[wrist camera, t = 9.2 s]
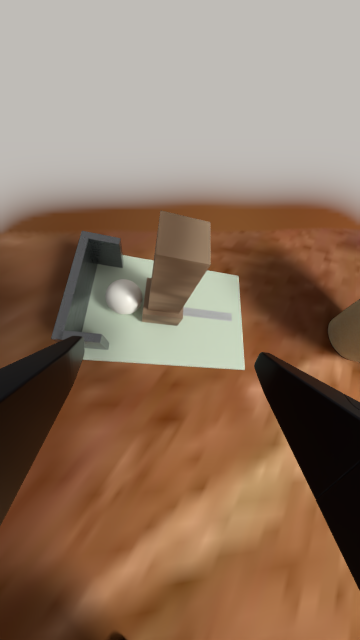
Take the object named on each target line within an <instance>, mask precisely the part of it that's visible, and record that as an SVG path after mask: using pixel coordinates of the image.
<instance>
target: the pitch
mask: <svg viewBox="0 0 360 640" xmlns="http://www.w3.org/2000/svg"><path fill="white" fill-rule="evenodd" d="M153 263H154V261H152V260H147V259H141V258H136V257H130V256H124V255H123V268H119V267H113V266H107V265H101V264H98V265H97V269H96V273H95V278H94V282H93V286H92V291H91V295H90V299H89V304H88V308H87V312H86V317H85V321H84V325H83V330H82V332H85V333H96V334H102V335H103V336H104V337H105V338H106V339H107V341H108V342H109V348H108V350H103V349H90V348H84V349H85V353H84V357H83V360H95V361H111V362H126V363H142V364H157V365H173V366H189V367H204V368H220V369H236V370H245V365H244V350H243V336H242V321H241V306H240V291H239V276H236V275H230V274H225V273H219V272H213V271H208V270H207V271H206V273H205V274H204V276H203V277H202V279H201V280H200V282H199V283H198V285H197V286H196V288H195V290H194V291H193V293H192V294H191V296H190V297H189V299H188V300H187V302H186V303H185V305H184V307H183V319H182V320H181V322H180V323H179V324H178V326H174V325H165V324H156V323H146V322H142V314H143V305H144V297H145V289H146V281H147V278H152V270H153ZM120 279H127V280H130V281H132V282H134V283H135V284H137V285H138V287H139V288H140V290H141V292H142V303H141V305H140V307H139V308H138V309H137V310H136V311H135V312H133V313H131V314H127V315H122V314H118V313H116V312H114V311H113V310H111V309H110V308H109V306H108V305H107V302H106V298H105V294H106V290H107V288H108V286H109V285H110V284H111V283H112V282H114V281H116V280H120Z"/></svg>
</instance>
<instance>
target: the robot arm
mask: <svg viewBox="0 0 360 640" xmlns="http://www.w3.org/2000/svg"><path fill="white" fill-rule="evenodd" d="M84 353H85V349H84V338H83V337H82V336H71V337H69V338H66V339H64V340H62V341H60V342H58V343H56V344H53V345H51V346H49V347H47V348H45V349H42V350H40V351H38V352H36V353H34V354H32V355H29V356H27V357H25V358H23V359H21V360H18V361H16V362H14V363H12V364H10V365H8V366H5V367H3V368H1V369H0V525H1V524H2V522H3V520H4V518H5V516H6V514H7V512H8V510H9V508H10V506H11V504H12V502H13V500H14V498H15V497H16V495H17V493H18V491H19V489H20V487H21V485H22V483H23V481H24V479H25V477H26V475H27V473H28V471H29V470H30V468H31V466H32V464H33V462H34V460H35V458H36V456H37V454H38V452H39V450H40V448H41V446H42V444H43V443H44V441H45V439H46V437H47V435H48V433H49V431H50V429H51V427H52V425H53V423H54V421H55V419H56V417H57V415H58V414H59V412H60V410H61V408H62V406H63V404H64V402H65V400H66V398H67V396H68V394H69V392H70V390H71V388H72V386H73V384H74V381H75V379H76V376H77V373H78V371H79V368H80V365H81V362H82V360H83V357H84ZM254 367H255V370H256V373H257V376H258V378H259V381H260V384H261V386H262V389H263V392H264V394H265V396H266V398H267V400H268V402H269V404H270V407H271V409H272V411H273V413H274V415H275V417H276V419H277V421H278V423H279V425H280V427H281V429H282V431H283V433H284V435H285V437H286V439H287V442H288V444H289V446H290V448H291V450H292V452H293V454H294V456H295V458H296V460H297V462H298V464H299V466H300V468H301V470H302V472H303V475H304V477H305V479H306V481H307V483H308V485H309V487H310V489H311V491H312V493H313V495H314V497H315V499H316V502H317V504H318V506H319V508H320V510H321V512H322V514H323V516H324V518H325V520H326V522H327V524H328V526H329V529H330V531H331V533H332V535H333V537H334V539H335V541H336V543H337V545H338V547H339V549H340V551H341V553H342V555H343V557H344V559H345V562H346V564H347V566H348V568H349V570H350V572H351V574H352V576H353V578H354V580H355V582H356V584H357V586H358V588H359V590H360V402H358V401H356V400H354V399H353V398H351V397H349V396H347V395H345V394H343V393H341V392H340V391H338V390H336V389H334V388H332V387H330V386H329V385H327V384H325V383H323V382H321V381H319V380H318V379H316V378H314V377H312V376H310V375H308V374H307V373H305V372H303V371H301V370H299V369H297V368H296V367H294V366H292V365H290V364H288V363H286V362H284V361H283V360H281V359H279V358H277V357H275V356H273V355H272V354H270V353H265V352H261V353H260V354H259V356H258V358H257V360H256V362H255V365H254Z"/></svg>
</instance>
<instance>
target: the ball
mask: <svg viewBox="0 0 360 640" xmlns="http://www.w3.org/2000/svg"><path fill="white" fill-rule="evenodd" d="M105 298H106V302H107V305H108V306H109V308H110V309H111V310H113V311H114V312H116V313H118V314H122V315H127V314H131V313H133V312H135V311H136V310H137V309H138V308H139V307H140V305H141V303H142V292H141V290H140V288H139V287H138V285H137V284H135V283H134V282H132V281H130V280H127V279H120V280H116V281H114V282H112V283H111V284H110V285H109V286H108V288H107V290H106V294H105Z"/></svg>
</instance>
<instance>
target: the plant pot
mask: <svg viewBox="0 0 360 640" xmlns="http://www.w3.org/2000/svg"><path fill="white" fill-rule="evenodd" d="M328 336H329V339H330V342H331V344H332V346H333V347H334V349H335V350H336V351H337V352H338V353H339V354H340V355H341V356H343V357H344V358H346V359H348V360H352V361H356V362H360V299H359V300H358V301H356V302H355V303H353V304H352V305H351V306H349V307H348V308H346V309H345V310H344V311H342V312H341V313H340V314H339V315H337V316H336V317H335V318H333V319H332V320H331V321H330V323H329V326H328Z"/></svg>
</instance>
